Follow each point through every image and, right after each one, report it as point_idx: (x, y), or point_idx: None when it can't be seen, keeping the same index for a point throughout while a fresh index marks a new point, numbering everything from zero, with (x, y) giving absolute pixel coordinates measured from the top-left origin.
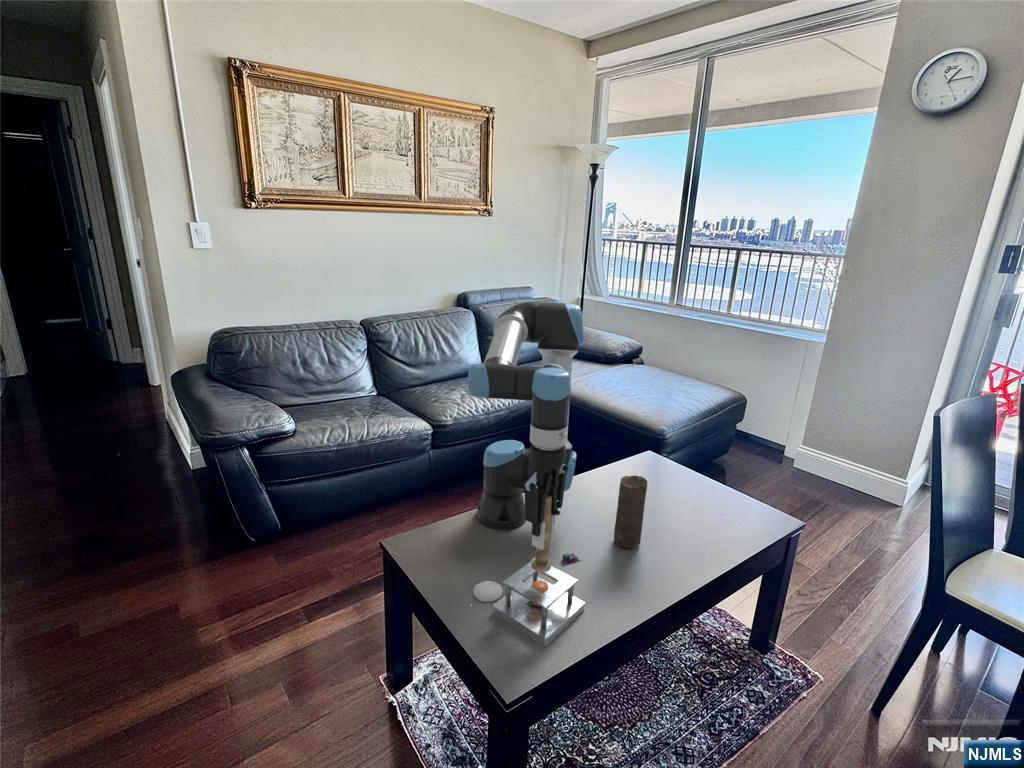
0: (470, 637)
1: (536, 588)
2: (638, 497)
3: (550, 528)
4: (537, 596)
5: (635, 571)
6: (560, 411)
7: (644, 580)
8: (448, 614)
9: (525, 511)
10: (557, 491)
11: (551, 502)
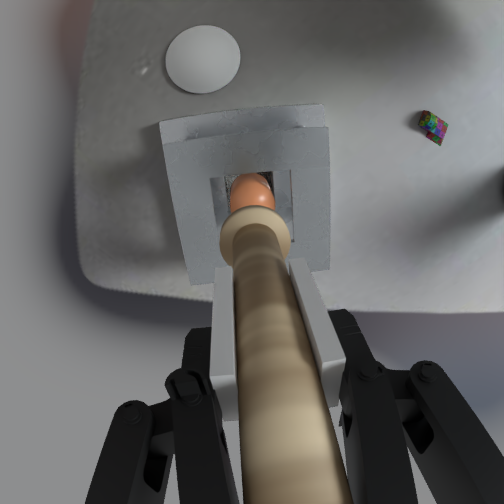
0: (89, 151)
1: (235, 207)
2: None
3: None
4: (200, 248)
5: (462, 239)
6: None
7: (449, 262)
8: (90, 71)
9: (98, 465)
10: (443, 481)
11: (350, 469)
